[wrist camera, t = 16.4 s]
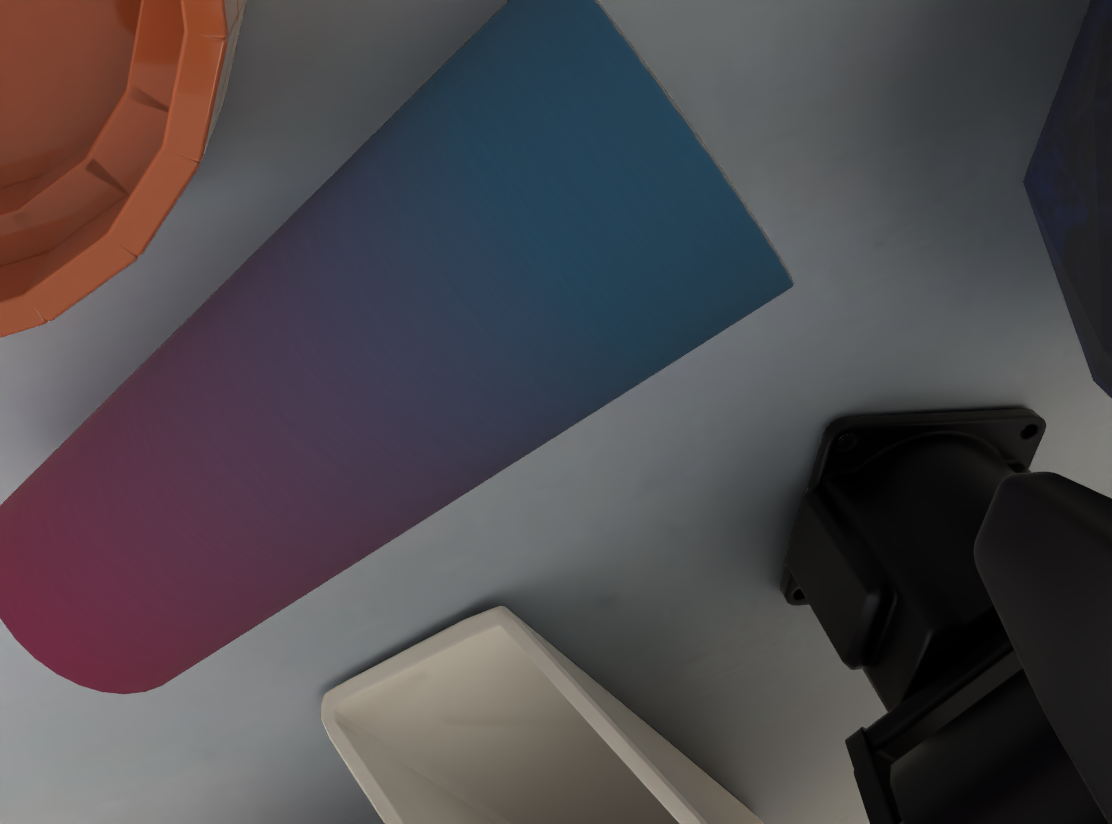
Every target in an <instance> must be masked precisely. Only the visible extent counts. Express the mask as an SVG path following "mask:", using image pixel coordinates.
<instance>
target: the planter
mask: <svg viewBox="0 0 1112 824" xmlns="http://www.w3.org/2000/svg"><path fill="white" fill-rule="evenodd" d="M321 719H322V722H323V724H324V727H325V729H326V732H327V734H328V737H329V739H330V740H331V742H332V743H333V745H334V746H335V748H336V750H337V751H338V753H339V754H340V756H341V757H342V759H343V760H344V762H345V764H346V765H347V767H348V768H349V770H350V771H351V773H352V774H353V776H354V778H355V779H356V781H357V782H358V784H359V785H360V787H361V788H362V790H363V791H364V793H365V794H366V796H367V797H368V799H369V801H370V802H371V804H372V805H373V807H374V808H375V810H376V811H377V813H378V814H379V816H380V817H381V819H382V820H383V822H384V823H385V824H764V823H763V821H762V820H761V819H759V818H758V817H757V816H756V815H755V814H754V813H752V812H751V811H750V810H749V809H748V808H747V807H746V806H745V805H743V804H742V803H741V802H740V801H739V800H737V799H736V798H735V797H734V796H733V795H731V794H730V793H729V792H728V791H727V790H725V789H724V788H723V787H722V786H721V785H719V784H718V783H717V782H716V781H715V780H713V779H712V778H711V777H710V776H709V775H708V774H706V773H705V772H704V771H703V770H702V769H700V768H699V767H698V766H697V765H696V764H694V763H693V762H692V761H691V760H690V759H688V758H687V757H686V756H685V755H684V754H683V753H681V752H680V751H679V750H678V749H677V748H675V747H674V746H673V745H672V744H671V743H669V742H668V741H667V740H666V739H665V738H663V737H662V736H661V735H660V734H659V733H657V732H656V731H655V730H654V729H652V728H651V727H650V726H649V725H648V724H646V723H645V722H644V721H643V720H642V719H640V718H639V717H638V716H637V715H636V714H634V713H633V712H632V711H631V710H630V709H628V708H627V707H626V706H625V705H624V704H622V703H621V702H620V701H619V700H618V699H616V698H615V697H614V696H613V695H612V694H610V693H609V692H608V691H607V690H606V689H604V688H603V687H602V686H601V685H600V684H598V683H597V682H596V681H595V680H594V679H592V678H591V677H590V676H589V675H588V674H586V673H585V672H584V671H583V670H581V669H580V668H579V667H578V666H577V665H575V664H574V663H573V662H572V661H571V660H569V659H568V658H567V657H566V656H565V655H563V654H562V653H561V652H560V651H558V650H557V649H556V648H555V647H554V646H552V645H551V644H550V643H549V642H548V641H546V640H545V639H544V638H543V637H542V636H540V635H539V634H538V633H537V632H535V631H534V630H533V629H532V628H531V627H529V626H528V625H527V624H526V623H525V622H523V621H522V620H521V619H520V618H519V617H517V616H516V615H515V614H514V613H512V612H511V611H510V610H509V609H508V608H506V607H504V606H498V607H495V608H492V609H490V610H487V611H485V612H482V613H479V614H477V615H474V616H472V617H469V618H467V619H464V620H462V621H460V622H458V623H457V624H455V625H453V626H451V627H449V628H447V629H445V630H443V631H441V632H439V633H437V634H435V635H433V636H431V637H429V638H428V639H426V640H424V641H422V642H420V643H418V644H416V645H414V646H412V647H410V648H408V649H406V650H404V651H402V652H401V653H399V654H397V655H395V656H393V657H391V658H389V659H387V660H385V661H383V662H381V663H380V664H378V665H376V666H374V667H372V668H370V669H368V670H366V671H364V672H362V673H360V674H359V675H357V676H355V677H353V678H351V679H349V680H347V681H345V682H344V683H342V684H340V685H338V686H337V687H335V688H333V689H331V690H329V691H328V692H327V693H326V694H325V695H324V697H323V700H322V710H321Z"/></svg>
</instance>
